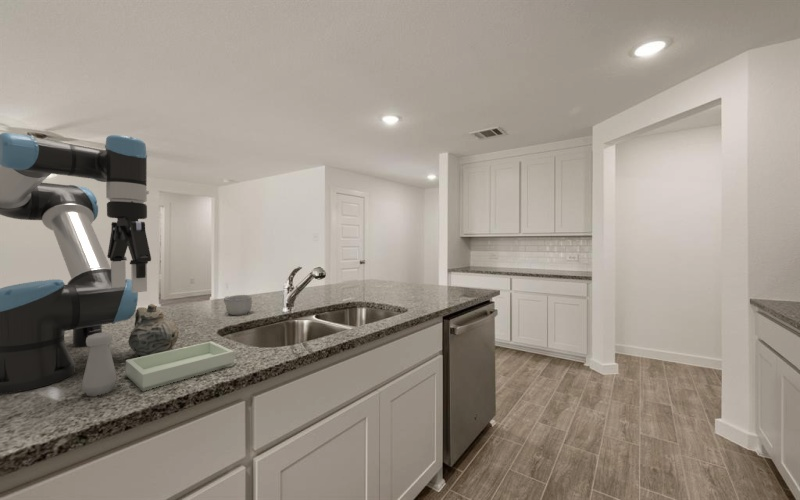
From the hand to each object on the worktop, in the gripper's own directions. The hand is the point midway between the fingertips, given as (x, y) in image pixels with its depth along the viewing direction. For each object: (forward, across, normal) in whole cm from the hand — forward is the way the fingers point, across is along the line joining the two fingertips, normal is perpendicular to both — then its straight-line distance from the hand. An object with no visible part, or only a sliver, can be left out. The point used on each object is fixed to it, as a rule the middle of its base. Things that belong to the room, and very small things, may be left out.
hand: (128, 289), depth 81 cm
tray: (+22, -6, -9) cm, 24 cm away
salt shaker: (+22, -5, +7) cm, 23 cm away
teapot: (+22, +13, -10) cm, 27 cm away
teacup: (+22, +45, -53) cm, 73 cm away
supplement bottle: (+22, +42, -2) cm, 47 cm away
